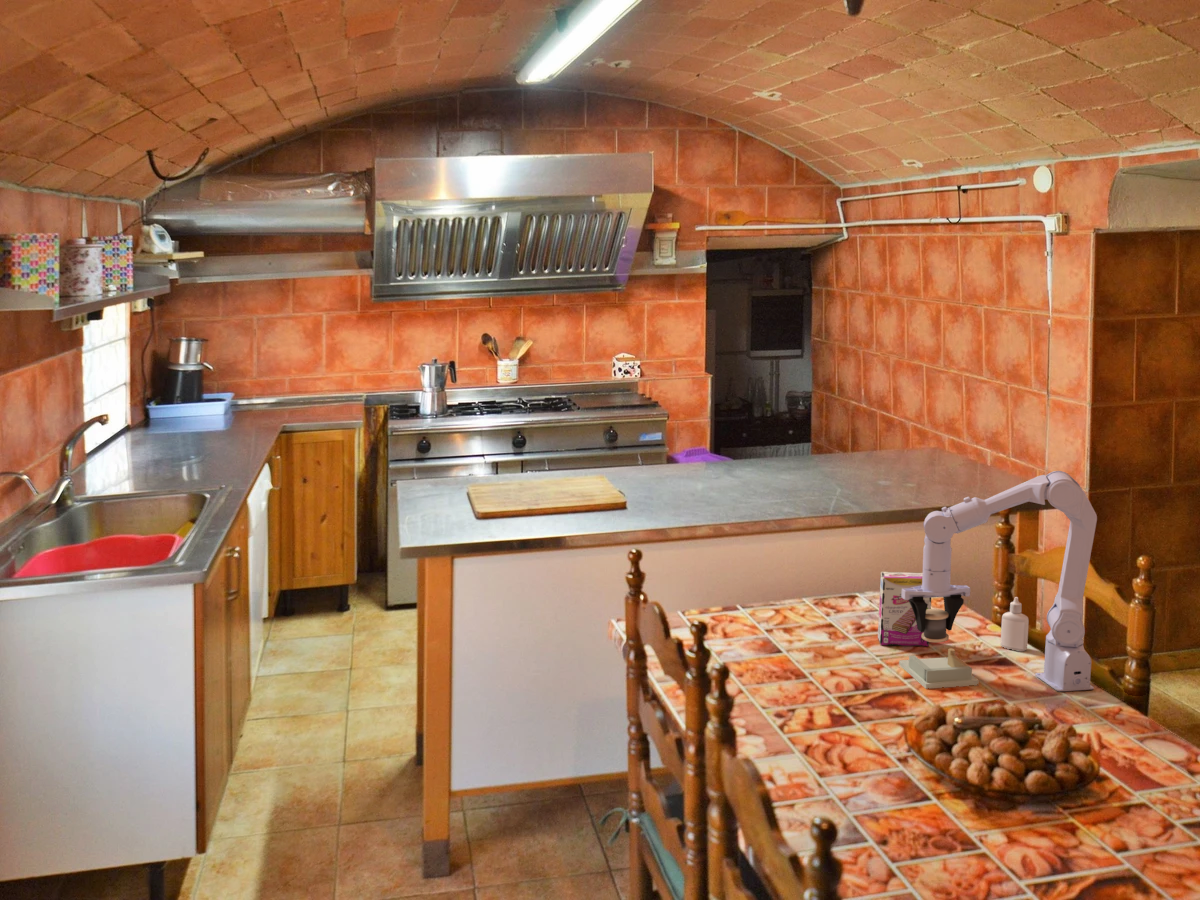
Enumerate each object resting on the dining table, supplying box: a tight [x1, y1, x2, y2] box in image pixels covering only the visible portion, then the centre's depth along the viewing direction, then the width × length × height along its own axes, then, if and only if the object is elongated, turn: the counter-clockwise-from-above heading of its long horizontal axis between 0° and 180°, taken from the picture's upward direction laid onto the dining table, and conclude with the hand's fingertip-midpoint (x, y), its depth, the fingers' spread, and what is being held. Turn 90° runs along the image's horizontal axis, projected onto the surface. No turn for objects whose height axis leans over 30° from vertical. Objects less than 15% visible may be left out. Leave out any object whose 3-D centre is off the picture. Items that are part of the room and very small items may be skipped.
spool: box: [921, 608, 949, 643], centre depth 241 cm, size 6×6×6 cm
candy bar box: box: [877, 571, 932, 647], centre depth 259 cm, size 11×5×16 cm, turn 84°
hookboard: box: [898, 648, 980, 690], centre depth 240 cm, size 14×12×4 cm
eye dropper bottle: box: [999, 596, 1029, 652], centre depth 255 cm, size 4×6×12 cm
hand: (934, 629), depth 241 cm, fingers closed on spool, 5 cm apart
